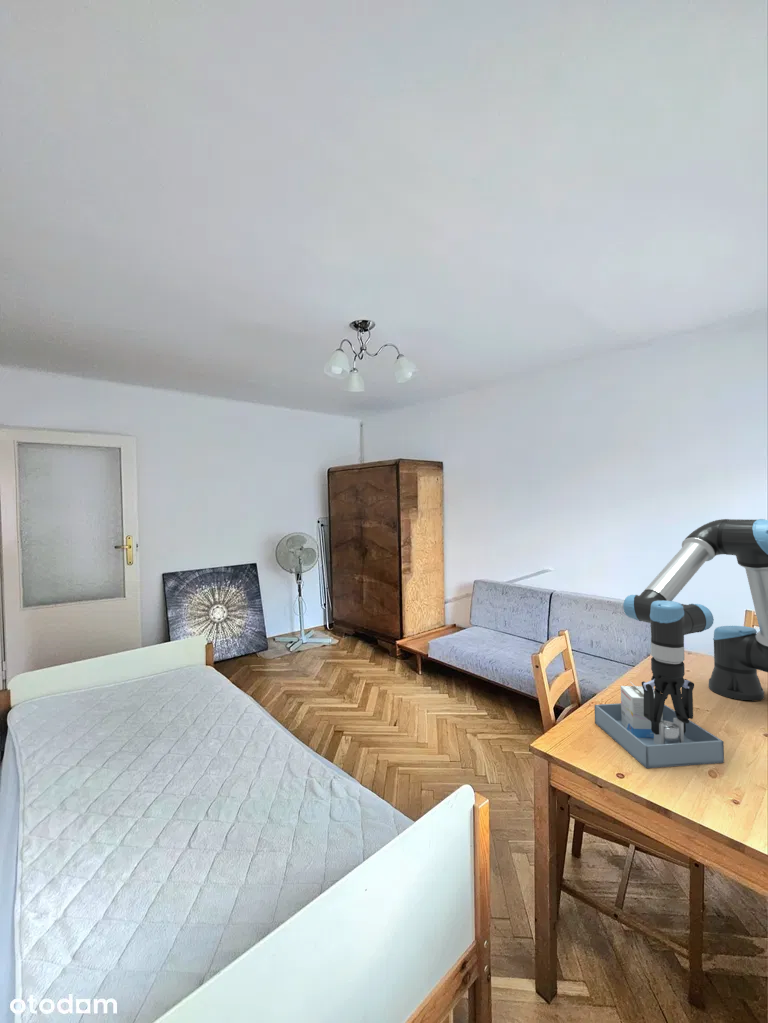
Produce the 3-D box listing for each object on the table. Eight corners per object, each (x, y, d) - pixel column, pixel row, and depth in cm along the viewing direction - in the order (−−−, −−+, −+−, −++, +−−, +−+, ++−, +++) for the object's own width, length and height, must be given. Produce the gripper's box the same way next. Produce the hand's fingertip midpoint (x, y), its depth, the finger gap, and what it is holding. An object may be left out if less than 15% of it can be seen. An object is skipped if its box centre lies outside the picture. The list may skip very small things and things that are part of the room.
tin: (684, 755, 113) (683, 729, 112) (666, 756, 112) (666, 730, 112) (670, 744, 117) (669, 719, 117) (653, 746, 117) (652, 721, 117)
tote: (659, 718, 133) (659, 700, 133) (723, 762, 110) (723, 741, 110) (594, 722, 131) (594, 704, 131) (646, 768, 108) (645, 746, 108)
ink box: (664, 739, 120) (663, 692, 120) (633, 737, 121) (632, 691, 121) (650, 723, 129) (649, 680, 129) (620, 722, 130) (619, 679, 130)
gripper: (687, 653, 119) (689, 735, 119) (626, 655, 118) (628, 739, 118) (710, 662, 111) (711, 750, 112) (645, 665, 110) (646, 754, 110)
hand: (668, 744), depth 115 cm, fingers closed on tin, 5 cm apart
